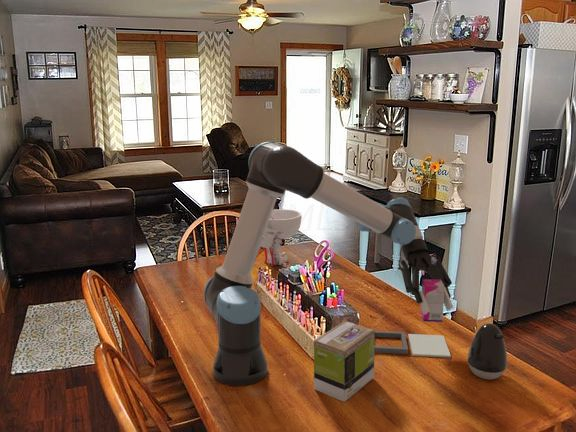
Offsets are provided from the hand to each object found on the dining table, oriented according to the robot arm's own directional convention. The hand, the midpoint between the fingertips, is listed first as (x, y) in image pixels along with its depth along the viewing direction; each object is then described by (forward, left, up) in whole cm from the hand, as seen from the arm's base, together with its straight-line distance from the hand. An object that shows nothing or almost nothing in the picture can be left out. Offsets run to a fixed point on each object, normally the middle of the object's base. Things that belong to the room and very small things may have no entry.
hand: (438, 310), depth 157 cm
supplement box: (+3, +1, -4) cm, 5 cm away
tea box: (-21, +27, -13) cm, 37 cm away
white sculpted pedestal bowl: (+72, +59, -13) cm, 94 cm away
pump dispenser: (-12, -12, -13) cm, 22 cm away
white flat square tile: (+3, +2, -13) cm, 14 cm away
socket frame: (+3, +14, -13) cm, 20 cm away
